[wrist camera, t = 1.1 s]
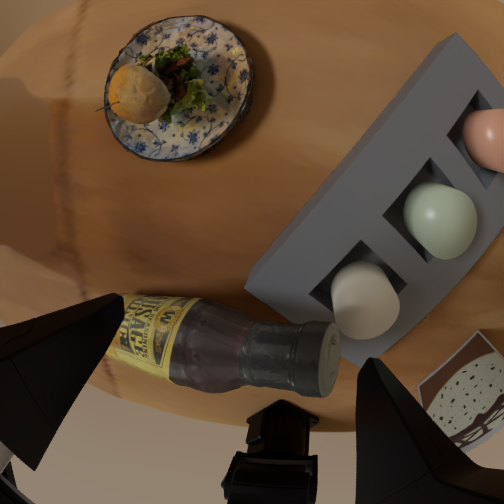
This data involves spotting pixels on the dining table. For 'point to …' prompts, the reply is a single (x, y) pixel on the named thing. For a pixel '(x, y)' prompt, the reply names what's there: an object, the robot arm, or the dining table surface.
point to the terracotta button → (485, 138)
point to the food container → (467, 393)
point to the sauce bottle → (224, 346)
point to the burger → (178, 88)
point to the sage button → (440, 219)
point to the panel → (391, 203)
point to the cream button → (363, 300)
